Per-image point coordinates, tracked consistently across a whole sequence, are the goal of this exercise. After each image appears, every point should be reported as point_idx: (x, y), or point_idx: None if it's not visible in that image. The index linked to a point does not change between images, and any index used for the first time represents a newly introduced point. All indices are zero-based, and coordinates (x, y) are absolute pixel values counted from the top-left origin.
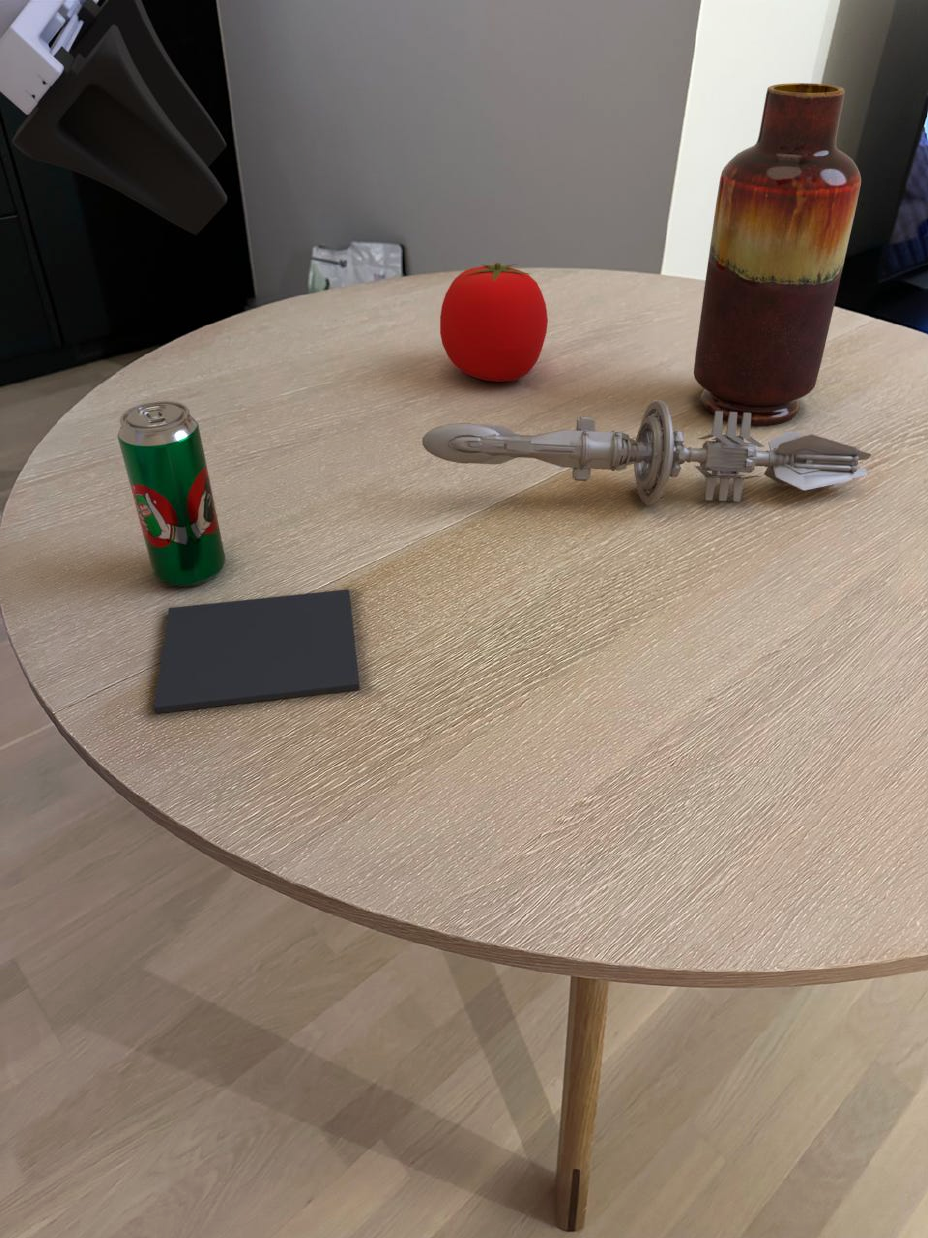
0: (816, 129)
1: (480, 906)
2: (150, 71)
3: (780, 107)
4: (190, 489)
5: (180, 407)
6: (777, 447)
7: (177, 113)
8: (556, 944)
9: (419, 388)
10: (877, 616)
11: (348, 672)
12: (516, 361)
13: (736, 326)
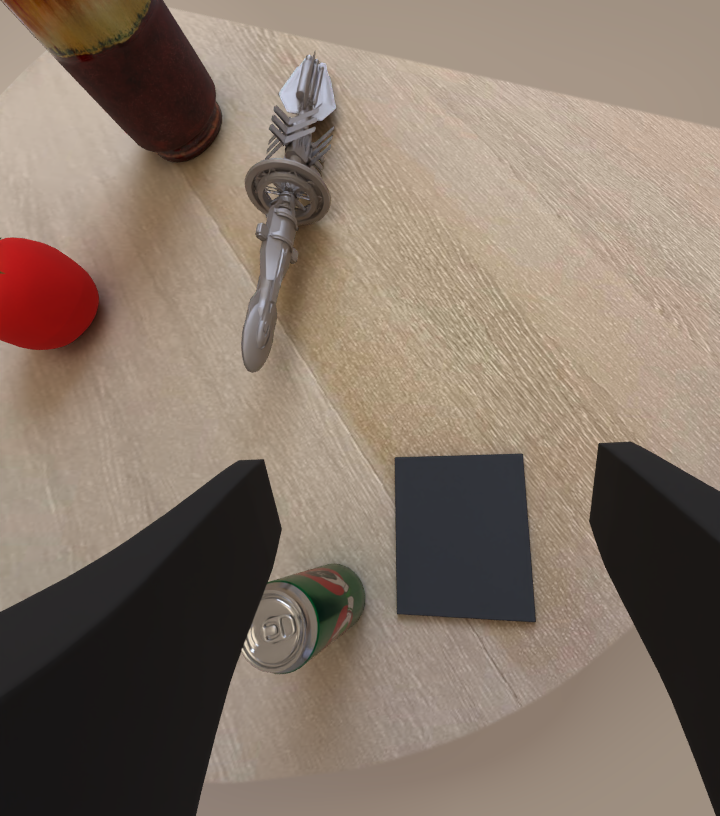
0: None
1: None
2: (160, 630)
3: None
4: (330, 591)
5: None
6: (294, 107)
7: (224, 557)
8: None
9: (81, 382)
10: (480, 100)
11: (508, 461)
12: (91, 287)
13: (157, 82)
